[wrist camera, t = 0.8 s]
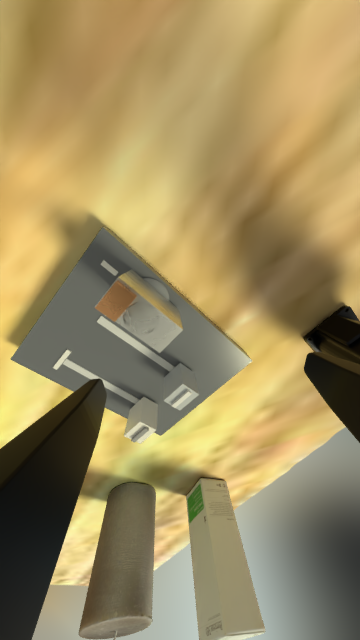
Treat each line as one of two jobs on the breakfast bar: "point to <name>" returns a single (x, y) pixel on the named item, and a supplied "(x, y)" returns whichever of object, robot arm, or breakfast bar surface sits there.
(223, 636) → the skincare box
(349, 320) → the robot arm
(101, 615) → the pillar candle
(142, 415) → the fader
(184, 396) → the fader
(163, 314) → the dial
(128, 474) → the breakfast bar surface
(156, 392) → the console
